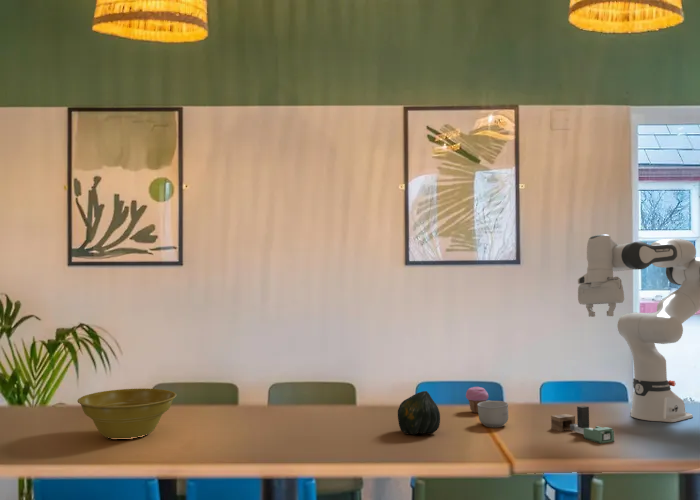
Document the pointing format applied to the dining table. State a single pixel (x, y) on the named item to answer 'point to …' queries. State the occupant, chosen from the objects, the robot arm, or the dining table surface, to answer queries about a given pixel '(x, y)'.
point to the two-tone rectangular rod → (585, 422)
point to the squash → (419, 414)
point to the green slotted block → (598, 434)
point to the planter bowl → (126, 410)
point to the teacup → (493, 413)
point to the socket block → (562, 422)
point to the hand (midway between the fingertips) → (600, 316)
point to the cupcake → (476, 397)
